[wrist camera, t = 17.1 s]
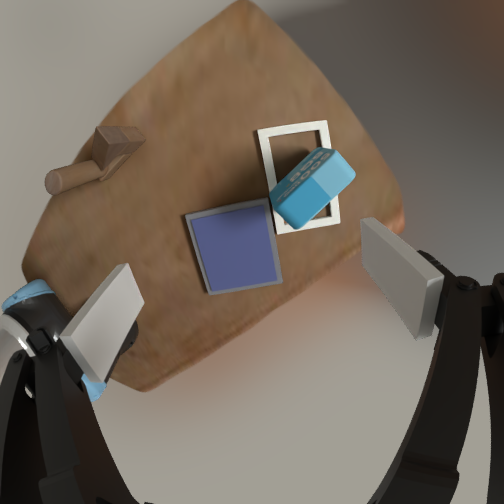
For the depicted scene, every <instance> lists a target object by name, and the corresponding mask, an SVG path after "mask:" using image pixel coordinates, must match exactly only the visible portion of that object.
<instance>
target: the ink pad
mask: <svg viewBox="0 0 504 504" xmlns="http://www.w3.org/2000/svg"><path fill="white" fill-rule="evenodd" d="M185 217H186V221H187V224H188V228H189V231H190V235H191V238H192V242H193V245H194V248H195V252H196V255H197V258H198V262H199V265H200V268H201V271H202V275H203V278H204V281H205V284H206V287H207V290H208V293H209V295H215V294H221V293H227V292H234V291H240V290H246V289H251V288H257V287H263V286H269V285H274V284H280V283H283V280H282V274H281V268H280V262H279V256H278V250H277V245H276V239H275V234H274V228H273V223H272V217H271V212H270V206H269V201H268V197H265V198H259V199H254V200H249V201H244V202H239V203H234V204H229V205H224V206H219V207H215V208H210V209H205V210H201V211H196V212H192V213H187V214H186V215H185Z"/></svg>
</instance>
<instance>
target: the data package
mask: <svg viewBox="0 0 504 504" xmlns="http://www.w3.org/2000/svg"><path fill="white" fill-rule="evenodd" d="M354 177H355V172H354V170H353V169H352V168H351V167H350V166H349V164H348V163H347V162H346V161H345V160H344V159H343V157H342V156H341V155H340V154H339V153H338V152H337V150H334V149H328V148H322V147H318V148H316V149H314V150H313V151H312V152H311V153H310V154H309V155H307V156H306V157H305V158H304V159H303V160H302V161H301V162H300V163H299V164H298V165H297V166H296V167H295V168H294V169H293V170H292V171H291V172H290V173H289V174H287V175H286V176H285V177H284V178H283V179H282V180H281V181H280V182H279V183H278V184H277V185H276V186H275V187H274V188H273V189H272V190H271V192H270V193H269V196H270V200H271V203H272V206H273V209H274V210H275V211H276V212H277V213H278V214H279V215H280V216H281V217H282V218H283V219H284V220H285V221H286V222H287V223H288V224H289V225H290V226H291V227H292V228H293V229H294V230H298V229H300V228H302V227H303V226H304V225H305V224H307V223H308V222H309V221H310V220H311V219H312V218H313V217H314V216H315V215H316V214H317V213H318V212H319V211H321V210H322V209H323V208H324V207H325V206H326V205H327V204H328V203H329V202H330V201H331V200H332V199H333V198H334V197H335V196H337V195H338V194H339V193H340V192H341V191H342V190H343V189H344V188H345V187H346V186H347V185H348V184H349V183H350V182H351V181H352V180H353V179H354Z"/></svg>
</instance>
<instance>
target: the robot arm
mask: <svg viewBox="0 0 504 504" xmlns="http://www.w3.org/2000/svg"><path fill="white" fill-rule="evenodd" d="M360 222H361V243H362V266H363V267H364V268H365V270H366V271H367V272H368V273H369V275H370V276H371V277H372V279H373V280H374V281H375V282H376V284H377V285H378V287H379V288H380V290H381V291H382V292H383V294H384V295H385V296H386V298H387V299H388V301H389V302H390V303H391V305H392V306H393V307H394V309H395V310H396V312H397V313H398V315H399V316H400V317H401V319H402V320H403V322H404V323H405V325H406V326H407V328H408V329H409V331H410V332H411V334H412V335H413V337H414V338H415V340H416V341H417V340H420V339H423V338H425V337H428V336H431V335H432V332H433V328H434V324H435V325H436V326H437V327H438V328H439V334H438V337H437V340H436V344H435V347H434V354H433V357H432V361H431V365H430V368H429V372H428V375H427V379H426V382H425V385H424V388H423V391H422V394H421V397H420V399H419V402H418V405H417V408H416V410H415V413H414V415H413V418H412V420H411V423H410V425H409V428H408V430H407V433H406V435H405V437H404V439H403V442H402V443H401V446H400V448H399V450H398V452H397V454H396V456H395V458H394V460H393V462H392V464H391V466H390V468H389V469H388V471H387V473H386V475H385V477H384V479H383V480H382V482H381V484H380V485H379V487H378V489H377V490H376V492H375V493H374V494H373V496H372V497H371V499H370V500H369V502H368V503H367V504H450V502H451V500H452V498H453V495H454V493H455V490H456V488H457V484H458V481H459V472H458V471H457V464H458V461H459V457H460V455H461V451H462V448H463V445H464V441H465V438H466V434H467V430H468V426H469V422H470V418H471V413H472V408H473V403H474V397H475V391H476V385H477V377H478V368H479V359H480V347H481V350H482V355H483V360H484V366H485V372H486V378H487V386H488V394H489V404H490V417H491V418H490V419H491V463H490V476H489V486H488V495H487V504H504V273H498V274H496V275H495V276H494V279H493V283H492V285H488V286H480V284H479V283H478V282H477V281H476V280H474V279H473V278H470V277H467V276H458V277H456V276H455V275H453V273H451V272H450V271H449V270H448V269H447V268H445V267H444V266H443V265H441V263H440V262H438V261H437V260H436V259H435V258H434V257H432V256H431V255H430V254H428V253H426V252H423V251H421V250H419V251H415V250H414V249H413V248H412V247H411V246H409V245H408V244H407V243H406V242H404V241H403V240H402V239H401V238H399V237H398V236H397V235H396V234H394V233H393V232H392V231H391V230H389V229H388V228H387V227H385V226H384V225H383V224H381V223H380V222H379V221H377V220H376V219H375V218H373V217H371V218H365V219H360ZM143 304H144V300H143V298H142V296H141V294H140V291H139V289H138V287H137V284H136V282H135V279H134V277H133V274H132V272H131V269H130V267H129V264H128V263H126V264H121V265H117V266H116V267H115V269H114V270H113V271H112V272H111V273H110V274H109V275H108V277H107V278H106V279H105V280H104V281H103V282H102V283H101V285H100V286H99V287H98V288H97V289H96V290H95V292H94V293H93V294H92V295H91V296H90V298H89V299H88V300H87V301H86V303H85V304H84V305H83V306H82V307H81V309H80V310H79V311H78V312H77V314H76V315H75V316H74V318H73V317H72V316H71V315H70V313H69V312H68V311H67V310H66V308H65V307H64V306H63V304H62V303H61V302H60V300H59V299H58V298H57V296H56V293H55V292H54V291H52V290H51V288H50V287H49V286H48V284H47V283H46V282H45V281H44V280H42V279H36V280H33V281H32V282H30V283H28V284H27V285H25V286H23V287H22V288H20V289H19V290H18V291H16V293H15V294H13V295H12V296H10V297H9V298H8V299H7V300H6V301H5V302H4V303H3V304H2V309H3V312H4V313H3V314H2V315H1V316H0V504H139V503H138V502H137V501H136V500H135V499H134V498H133V497H132V495H131V493H130V492H129V490H128V488H127V486H126V484H125V482H124V480H123V479H122V477H121V475H120V473H119V471H118V469H117V466H116V464H115V462H114V460H113V458H112V456H111V454H110V451H109V449H108V447H107V444H106V442H105V440H104V437H103V435H102V432H101V430H100V427H99V424H98V422H97V419H96V416H95V413H94V410H93V407H92V404H91V402H93V401H96V400H97V399H99V398H100V396H101V394H102V392H103V390H104V389H105V388H106V385H107V382H108V380H109V378H110V376H111V374H112V371H113V369H114V367H115V365H116V363H117V361H118V359H119V357H120V356H121V355H122V354H123V353H124V352H125V351H127V350H128V349H129V348H130V347H131V346H132V345H133V344H134V342H135V340H136V338H137V336H138V325H137V322H136V320H135V319H136V317H137V315H138V313H139V312H140V310H141V308H142V306H143ZM25 386H26V388H27V389H28V390H29V391H30V392H31V394H32V398H30V397H29V396H28V394H27V393H26V391H25ZM144 504H153V503H148V502H145V503H144Z"/></svg>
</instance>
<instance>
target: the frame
mask: <svg viewBox="0 0 504 504" xmlns="http://www.w3.org/2000/svg"><path fill="white" fill-rule="evenodd" d="M311 130H319V134H320V140H321V146H322V148H328V149H331V143H330V137H329V131H328V126H327V120H324V121H315V122H306V123H299V124H291V125H284V126H278V127H272V128H266V129H260V130H257V131H258V136H259V141H260V146H261V150H262V155H263V161H264V166H265V171H266V176H267V181H268V186H269V192H271V190H272V189H273V188H274V187H275V186H276V185H277V181H276V176H275V170H274V165H273V160H272V154H271V149H270V144H269V139H268V137H270V136H276V135H282V134H289V133H296V132H303V131H311ZM329 203H330V212H331V216H326V217H320V218H314V219H311V220H310V221H309V222H308V223H307V224H305V225H304V226H303V227H302V228H300V229H298V230H294V229H293V228H292V227H291V226H290V225H289V224H288V223H286V224H284V221H283V218H282V217H281V216H280V215H279V214H278V213H277V212H276V211H275V210H274V209H273V213H274V219H275V224H276V230H277V234H283V233H288V232H294V231H299V230H305V229H310V228H316V227H321V226H327V225H333V224H338V223H340V214H339V204H338V195H337V196H335V197H334V198H333V199H332V200H331V201H330V202H329ZM272 208H273V206H272Z"/></svg>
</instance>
